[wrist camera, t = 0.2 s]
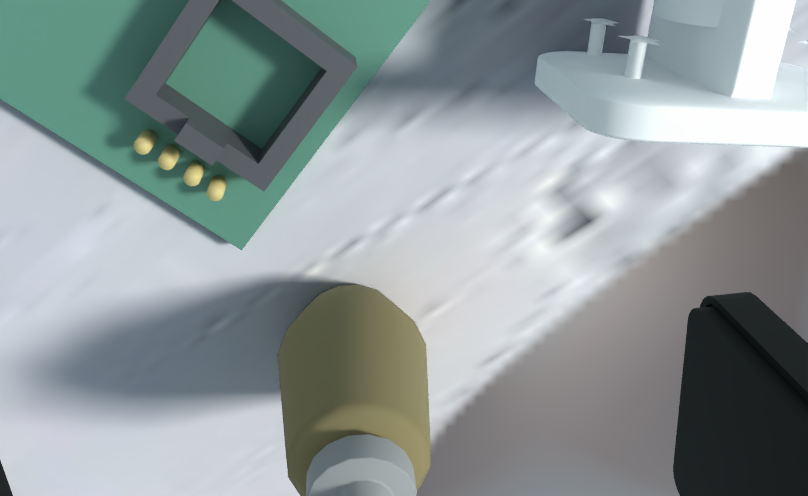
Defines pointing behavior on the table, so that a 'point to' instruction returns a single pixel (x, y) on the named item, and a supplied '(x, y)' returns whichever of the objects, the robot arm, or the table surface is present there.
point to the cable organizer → (688, 77)
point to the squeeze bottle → (355, 397)
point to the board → (198, 89)
